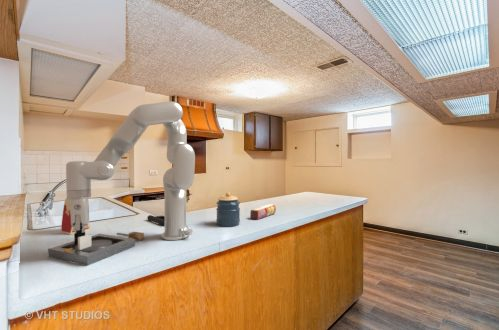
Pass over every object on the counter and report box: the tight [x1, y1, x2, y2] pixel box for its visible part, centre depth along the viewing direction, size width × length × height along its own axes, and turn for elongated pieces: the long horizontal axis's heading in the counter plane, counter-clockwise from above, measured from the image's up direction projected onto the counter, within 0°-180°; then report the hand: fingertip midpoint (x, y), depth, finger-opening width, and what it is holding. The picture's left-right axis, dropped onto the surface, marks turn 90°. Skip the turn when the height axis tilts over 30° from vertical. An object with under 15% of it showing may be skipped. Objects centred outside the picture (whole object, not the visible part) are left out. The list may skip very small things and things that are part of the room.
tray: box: [47, 233, 136, 266], centre depth 95 cm, size 20×20×4 cm
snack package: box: [249, 203, 277, 221], centre depth 156 cm, size 21×7×7 cm, turn 144°
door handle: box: [146, 215, 165, 227], centre depth 143 cm, size 3×20×16 cm
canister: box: [215, 191, 241, 228], centre depth 137 cm, size 13×13×18 cm
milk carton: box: [60, 197, 91, 236], centre depth 122 cm, size 9×9×20 cm
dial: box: [75, 233, 112, 253], centre depth 95 cm, size 12×12×6 cm
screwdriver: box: [116, 231, 145, 242], centre depth 111 cm, size 14×3×3 cm, turn 70°
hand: (79, 243), depth 93 cm, fingers closed
